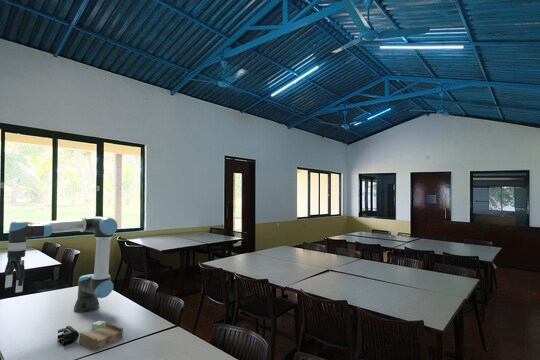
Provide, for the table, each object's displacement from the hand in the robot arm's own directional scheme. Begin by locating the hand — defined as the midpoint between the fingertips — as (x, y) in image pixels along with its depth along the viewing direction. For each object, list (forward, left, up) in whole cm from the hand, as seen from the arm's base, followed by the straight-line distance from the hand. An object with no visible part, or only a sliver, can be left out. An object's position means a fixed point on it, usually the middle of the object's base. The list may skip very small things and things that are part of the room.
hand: (13, 289), depth 162 cm
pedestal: (-27, +38, -28) cm, 54 cm away
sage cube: (-33, +26, -28) cm, 50 cm away
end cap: (-17, +24, -28) cm, 41 cm away
